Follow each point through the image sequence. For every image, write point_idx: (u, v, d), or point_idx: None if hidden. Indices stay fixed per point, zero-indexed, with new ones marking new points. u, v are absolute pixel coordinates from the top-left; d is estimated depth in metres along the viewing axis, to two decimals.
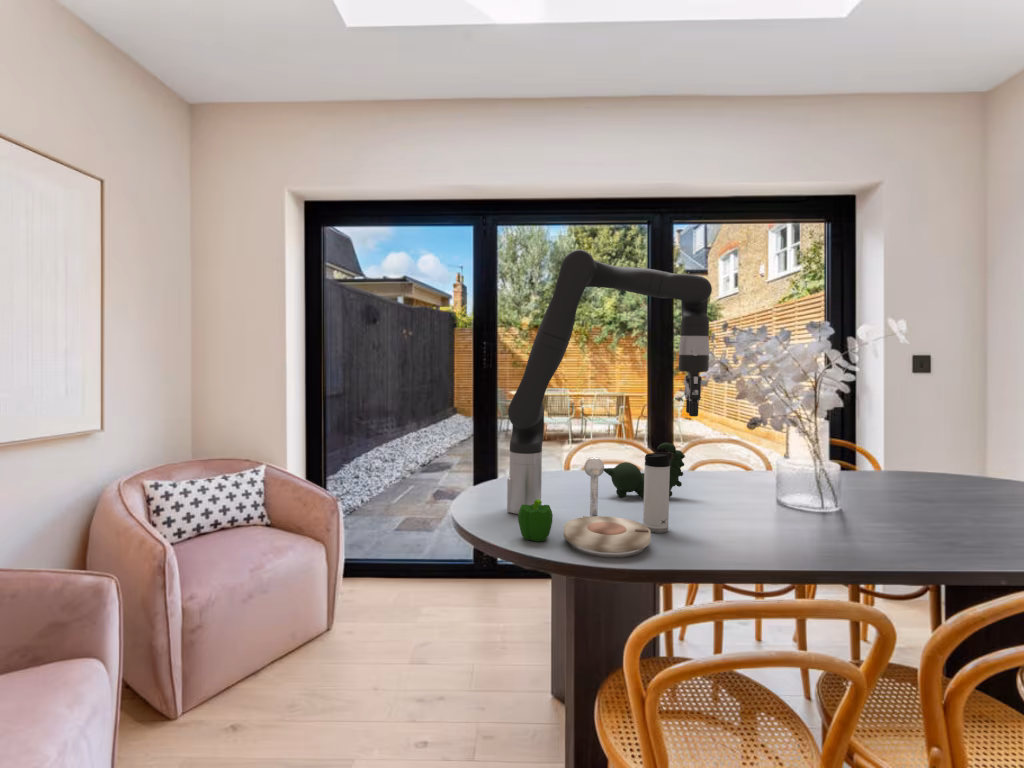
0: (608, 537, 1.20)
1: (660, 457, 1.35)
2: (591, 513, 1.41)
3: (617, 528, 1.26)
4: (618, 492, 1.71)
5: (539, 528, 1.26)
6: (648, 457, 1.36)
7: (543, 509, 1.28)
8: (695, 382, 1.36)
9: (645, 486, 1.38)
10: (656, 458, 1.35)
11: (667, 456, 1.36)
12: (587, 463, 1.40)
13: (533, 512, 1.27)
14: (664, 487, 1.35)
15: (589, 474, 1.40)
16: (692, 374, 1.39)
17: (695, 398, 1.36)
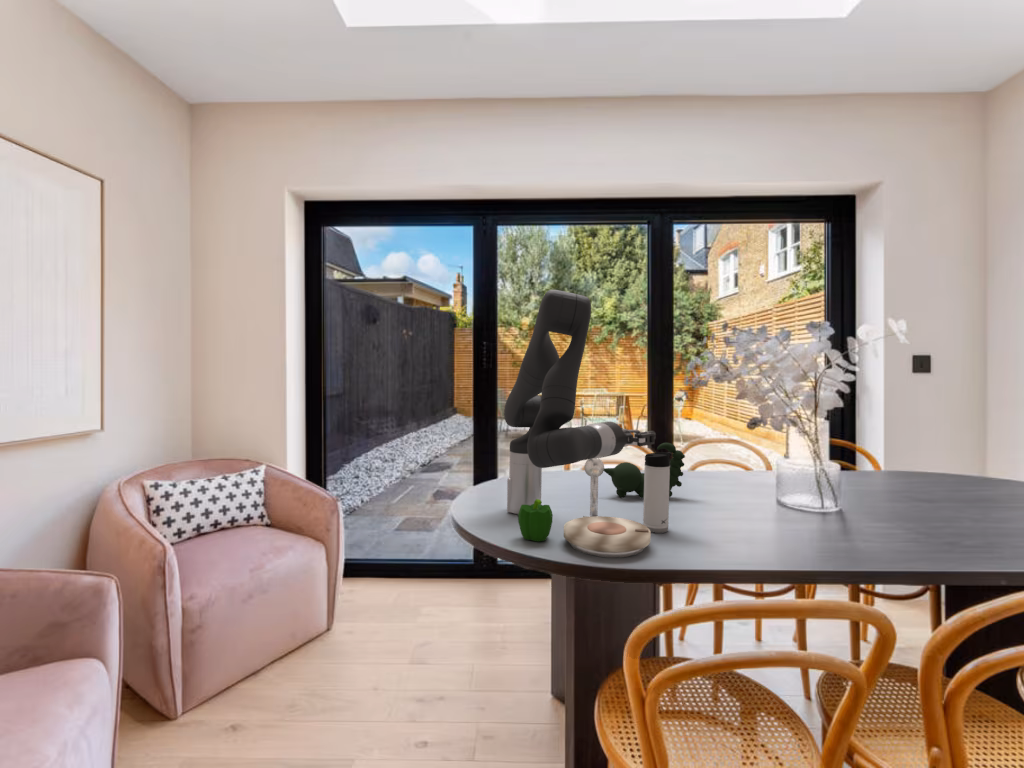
0: (608, 537, 1.20)
1: (660, 457, 1.35)
2: (591, 513, 1.41)
3: (617, 528, 1.26)
4: (618, 492, 1.71)
5: (539, 528, 1.26)
6: (648, 457, 1.36)
7: (543, 509, 1.28)
8: None
9: (645, 486, 1.38)
10: (656, 458, 1.35)
11: (667, 456, 1.36)
12: (587, 463, 1.40)
13: (533, 512, 1.27)
14: (664, 487, 1.35)
15: (589, 474, 1.40)
16: None
17: None
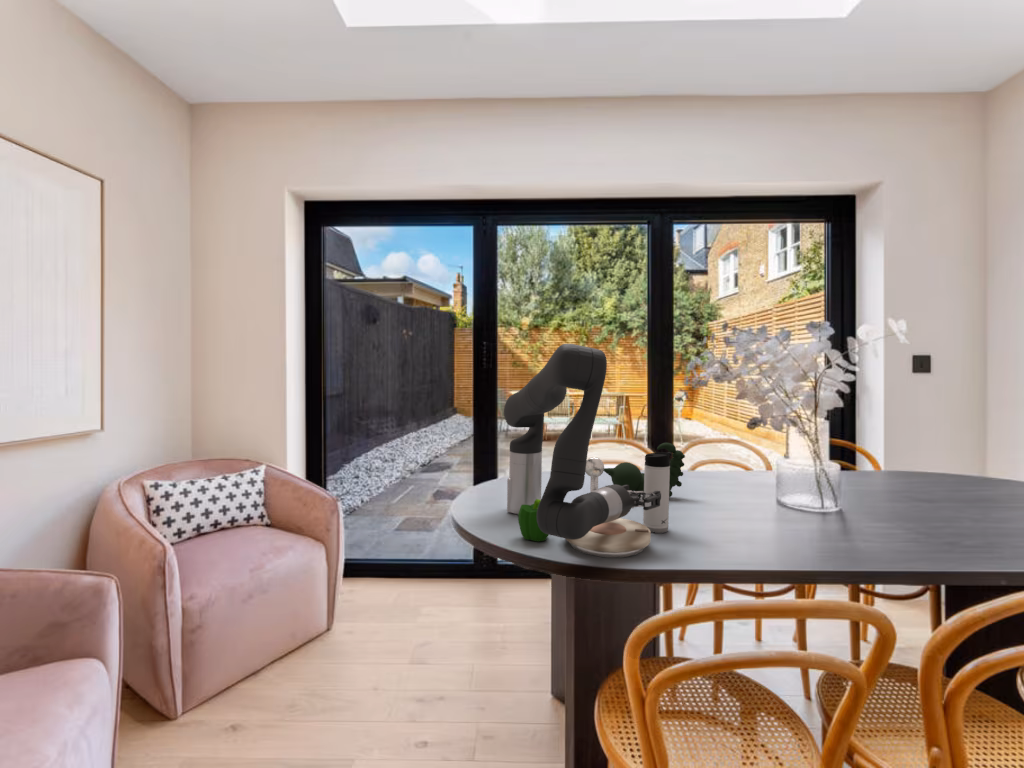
0: (608, 537, 1.20)
1: (660, 457, 1.35)
2: None
3: (617, 528, 1.26)
4: None
5: (539, 528, 1.26)
6: (648, 457, 1.36)
7: None
8: None
9: (645, 486, 1.38)
10: (656, 458, 1.35)
11: (667, 456, 1.36)
12: (587, 463, 1.40)
13: (533, 512, 1.27)
14: (664, 487, 1.35)
15: (589, 474, 1.40)
16: None
17: None
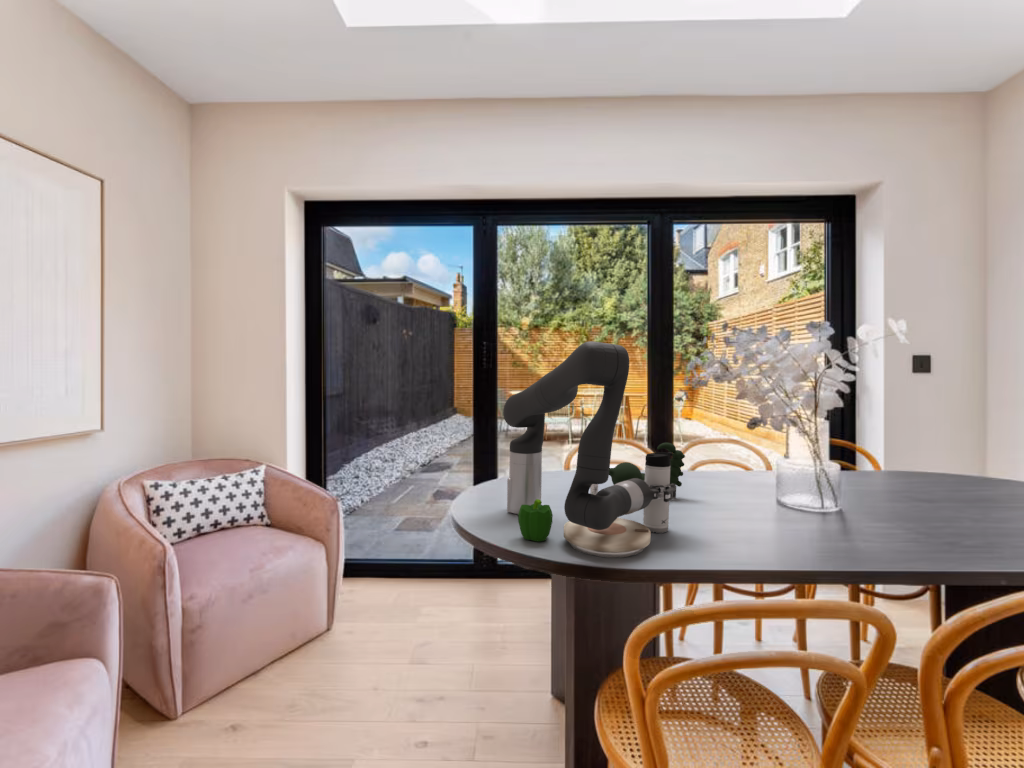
0: (608, 537, 1.20)
1: (661, 457, 1.35)
2: None
3: (617, 528, 1.26)
4: None
5: (539, 528, 1.26)
6: (649, 457, 1.36)
7: (543, 509, 1.28)
8: None
9: None
10: (657, 458, 1.35)
11: (668, 456, 1.35)
12: None
13: (533, 512, 1.27)
14: None
15: None
16: None
17: None
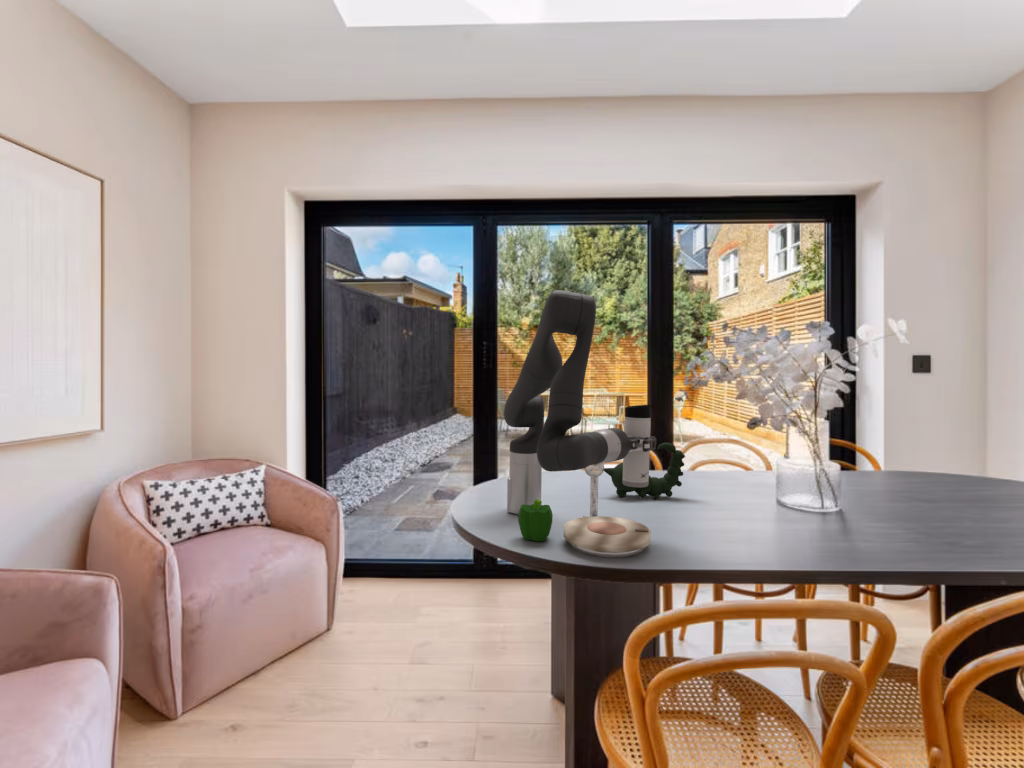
0: (608, 537, 1.20)
1: (640, 407, 1.29)
2: (591, 513, 1.41)
3: (617, 528, 1.26)
4: (618, 492, 1.71)
5: (539, 528, 1.26)
6: (628, 408, 1.30)
7: (543, 509, 1.28)
8: None
9: None
10: (636, 408, 1.29)
11: (648, 407, 1.30)
12: None
13: (533, 512, 1.27)
14: None
15: (589, 474, 1.40)
16: None
17: None
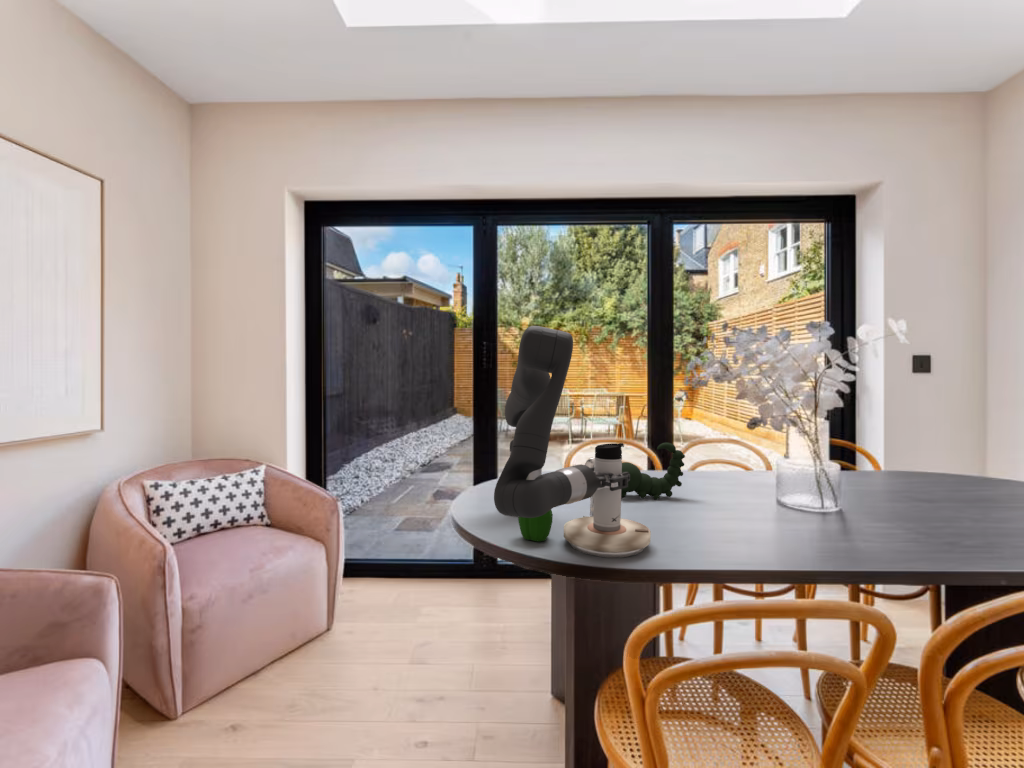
0: (608, 537, 1.20)
1: (610, 448, 1.22)
2: (591, 513, 1.41)
3: None
4: None
5: (539, 528, 1.26)
6: (598, 448, 1.24)
7: None
8: None
9: None
10: (606, 449, 1.22)
11: (618, 447, 1.23)
12: (587, 463, 1.40)
13: None
14: None
15: None
16: None
17: None
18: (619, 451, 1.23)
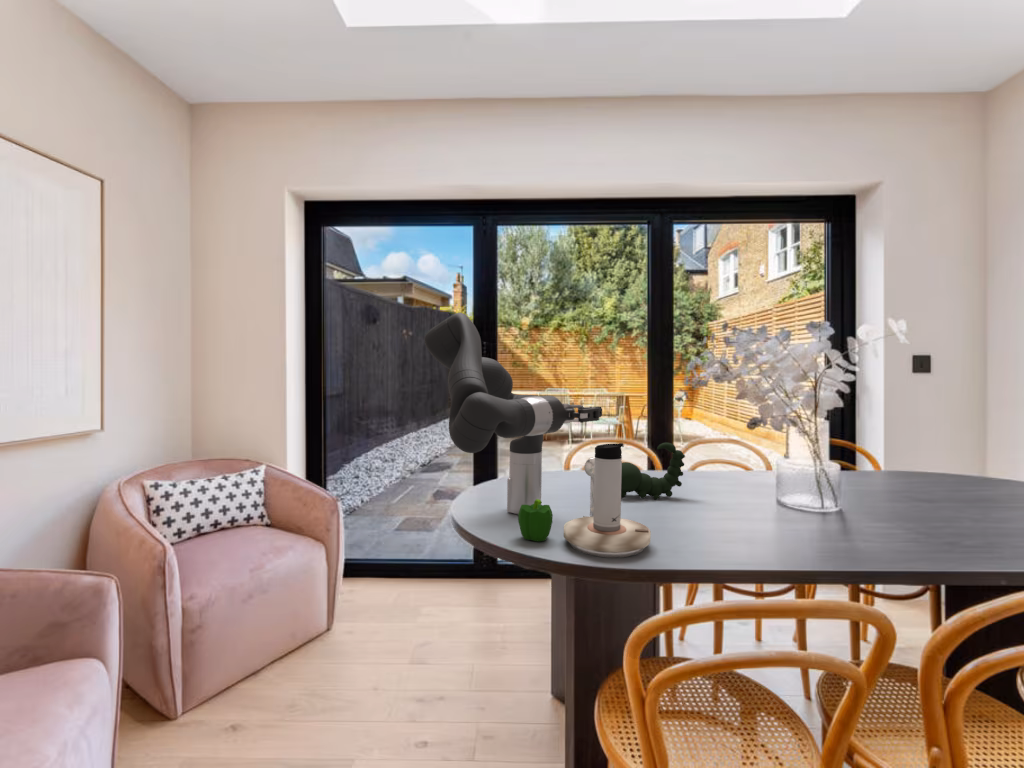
0: (608, 537, 1.20)
1: (610, 448, 1.22)
2: (591, 513, 1.41)
3: None
4: None
5: (539, 528, 1.26)
6: (597, 448, 1.24)
7: (543, 509, 1.28)
8: None
9: (595, 480, 1.25)
10: (606, 449, 1.23)
11: (618, 447, 1.23)
12: (587, 463, 1.40)
13: (533, 512, 1.27)
14: (614, 481, 1.23)
15: (589, 474, 1.40)
16: None
17: None
18: (619, 451, 1.23)
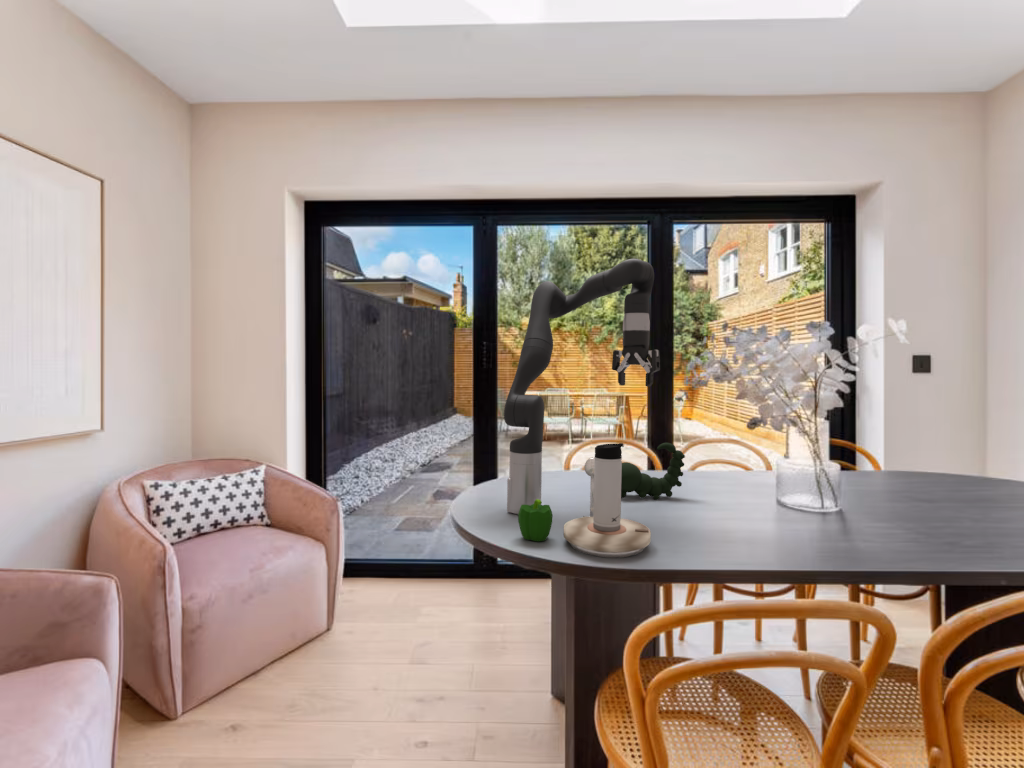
0: (608, 537, 1.20)
1: (610, 448, 1.22)
2: (591, 513, 1.41)
3: None
4: None
5: (539, 528, 1.26)
6: (597, 448, 1.24)
7: (543, 509, 1.28)
8: None
9: (595, 480, 1.25)
10: (606, 449, 1.23)
11: (618, 447, 1.23)
12: (587, 463, 1.40)
13: (533, 512, 1.27)
14: (614, 481, 1.23)
15: (589, 474, 1.40)
16: None
17: None
18: (619, 451, 1.23)
